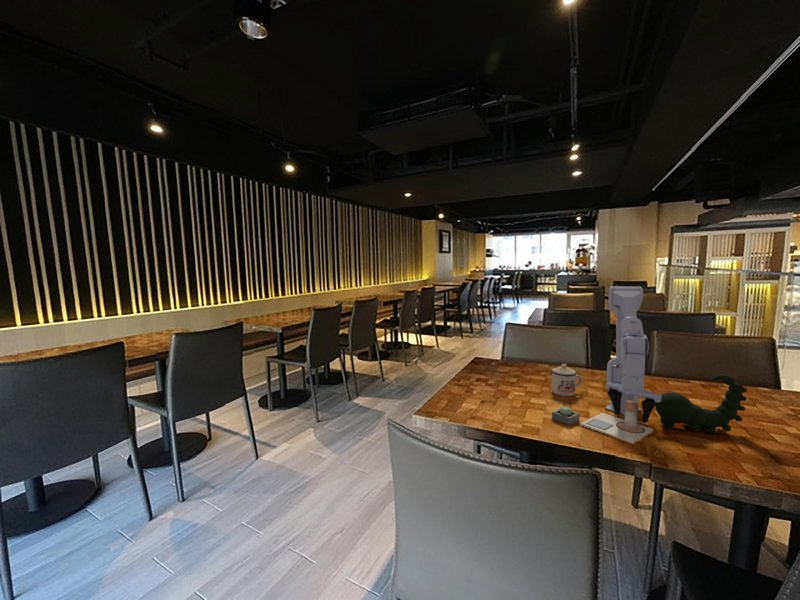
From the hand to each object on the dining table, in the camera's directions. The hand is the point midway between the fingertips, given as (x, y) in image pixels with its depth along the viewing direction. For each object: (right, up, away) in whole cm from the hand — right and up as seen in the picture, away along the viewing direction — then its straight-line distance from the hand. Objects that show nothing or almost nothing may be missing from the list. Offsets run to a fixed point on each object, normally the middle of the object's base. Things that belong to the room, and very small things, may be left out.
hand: (630, 417), depth 106 cm
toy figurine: (+20, -4, +1) cm, 20 cm away
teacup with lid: (-4, -2, +33) cm, 34 cm away
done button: (-17, -2, +8) cm, 18 cm away
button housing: (-17, -4, +8) cm, 19 cm away
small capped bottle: (0, -3, 0) cm, 3 cm away
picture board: (-4, -4, +1) cm, 6 cm away
